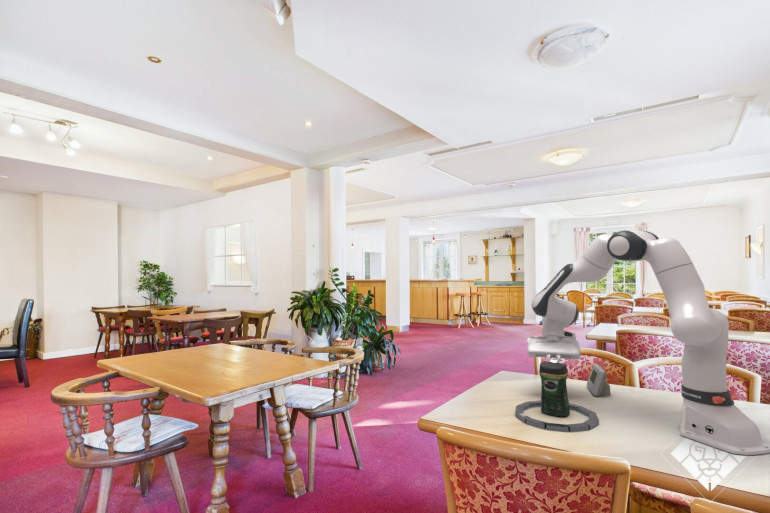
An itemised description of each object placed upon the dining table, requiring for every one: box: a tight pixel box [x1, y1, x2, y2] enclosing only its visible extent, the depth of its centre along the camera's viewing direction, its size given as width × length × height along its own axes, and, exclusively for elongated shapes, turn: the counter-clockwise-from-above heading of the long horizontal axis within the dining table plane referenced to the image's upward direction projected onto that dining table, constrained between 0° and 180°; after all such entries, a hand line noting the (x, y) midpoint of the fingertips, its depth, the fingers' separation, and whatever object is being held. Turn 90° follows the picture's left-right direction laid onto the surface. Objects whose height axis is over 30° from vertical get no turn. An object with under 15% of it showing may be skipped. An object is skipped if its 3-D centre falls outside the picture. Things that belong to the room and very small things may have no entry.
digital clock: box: [586, 363, 611, 397], centre depth 170 cm, size 16×9×11 cm, turn 152°
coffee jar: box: [538, 360, 571, 417], centre depth 147 cm, size 10×8×19 cm
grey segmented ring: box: [514, 399, 600, 433], centre depth 143 cm, size 27×27×2 cm
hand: (553, 365), depth 159 cm, fingers closed
